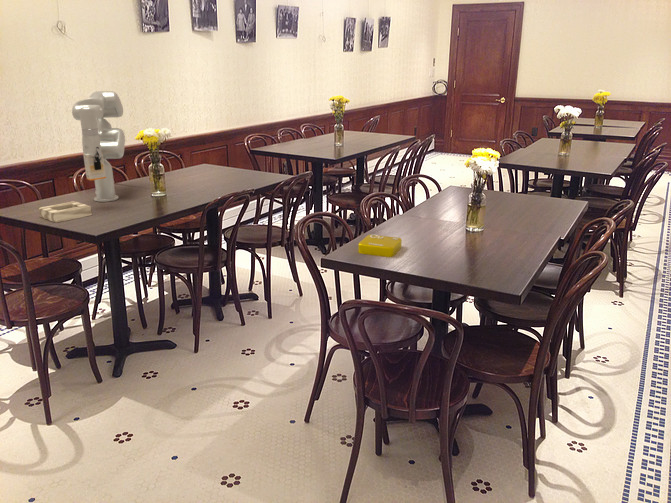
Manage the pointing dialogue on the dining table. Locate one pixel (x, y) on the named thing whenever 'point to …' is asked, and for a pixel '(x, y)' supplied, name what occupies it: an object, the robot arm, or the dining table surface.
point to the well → (65, 211)
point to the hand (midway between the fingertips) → (95, 168)
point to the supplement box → (93, 168)
